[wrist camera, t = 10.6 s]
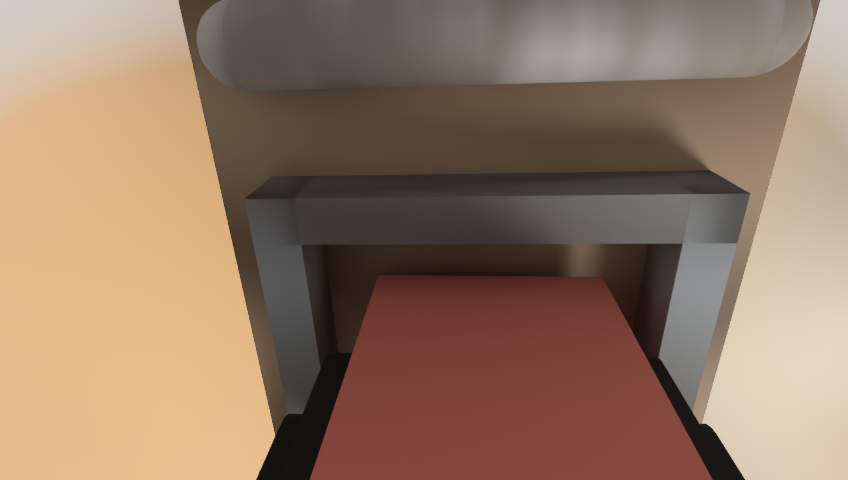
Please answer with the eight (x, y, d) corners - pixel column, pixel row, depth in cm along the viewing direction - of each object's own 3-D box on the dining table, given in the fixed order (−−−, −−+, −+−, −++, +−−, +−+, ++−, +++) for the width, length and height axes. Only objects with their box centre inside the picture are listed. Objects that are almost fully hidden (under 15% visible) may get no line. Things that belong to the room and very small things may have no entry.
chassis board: (184, -91, 9) (94, -128, 7) (817, -127, 9) (954, -183, 6) (299, 472, 16) (272, 549, 14) (663, 484, 15) (700, 568, 13)
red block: (378, 274, 11) (292, 529, 5) (602, 277, 10) (752, 554, 5) (391, 435, 13) (340, 734, 8) (578, 442, 13) (667, 764, 7)
